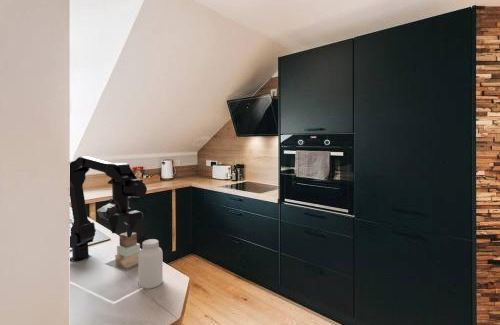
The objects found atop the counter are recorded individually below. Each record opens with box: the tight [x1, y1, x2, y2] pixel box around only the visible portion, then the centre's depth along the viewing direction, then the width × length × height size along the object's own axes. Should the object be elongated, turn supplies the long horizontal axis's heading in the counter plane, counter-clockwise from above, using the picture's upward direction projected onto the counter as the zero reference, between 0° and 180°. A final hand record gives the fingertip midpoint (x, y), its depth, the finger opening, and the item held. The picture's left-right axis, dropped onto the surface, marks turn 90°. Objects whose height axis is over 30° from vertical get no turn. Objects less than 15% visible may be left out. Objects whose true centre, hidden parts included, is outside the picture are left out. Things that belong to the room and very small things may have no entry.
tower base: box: [114, 253, 139, 268], centre depth 111 cm, size 7×7×4 cm
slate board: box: [104, 259, 138, 272], centre depth 111 cm, size 13×10×1 cm
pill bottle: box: [137, 238, 164, 290], centre depth 95 cm, size 8×8×15 cm
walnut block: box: [118, 231, 138, 247], centre depth 110 cm, size 4×4×4 cm
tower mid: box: [116, 242, 141, 257], centre depth 111 cm, size 6×6×4 cm
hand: (121, 235), depth 107 cm, fingers open, 9 cm apart
